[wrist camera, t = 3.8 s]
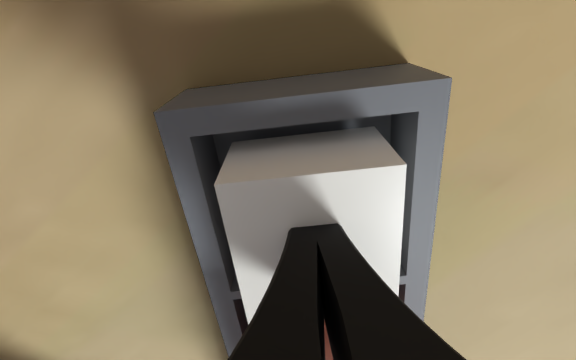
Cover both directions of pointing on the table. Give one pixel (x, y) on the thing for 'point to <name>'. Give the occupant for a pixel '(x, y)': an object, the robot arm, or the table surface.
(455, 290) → the table surface
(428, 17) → the table surface
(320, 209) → the ivory key
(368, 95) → the key housing
